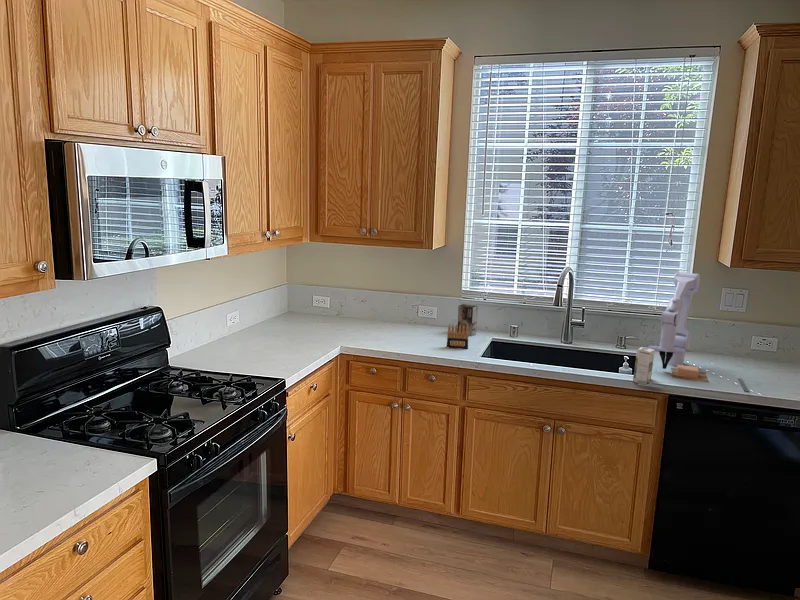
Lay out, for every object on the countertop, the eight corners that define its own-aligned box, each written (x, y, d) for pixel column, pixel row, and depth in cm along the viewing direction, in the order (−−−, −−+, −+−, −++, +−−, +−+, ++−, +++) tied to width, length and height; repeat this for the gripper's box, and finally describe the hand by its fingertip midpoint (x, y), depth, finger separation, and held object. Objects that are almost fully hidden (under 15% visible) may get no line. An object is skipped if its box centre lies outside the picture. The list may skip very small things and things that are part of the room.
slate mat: (706, 375, 259) (706, 374, 259) (741, 379, 254) (742, 378, 253) (710, 386, 242) (710, 385, 242) (748, 392, 237) (748, 391, 237)
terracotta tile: (676, 371, 258) (677, 364, 257) (696, 373, 255) (697, 367, 255) (677, 375, 252) (677, 368, 251) (697, 378, 249) (698, 371, 248)
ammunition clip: (446, 347, 291) (447, 324, 289) (446, 346, 293) (447, 323, 291) (467, 349, 290) (469, 325, 287) (467, 348, 291) (469, 324, 289)
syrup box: (636, 379, 250) (640, 346, 247) (651, 382, 246) (655, 349, 243) (632, 382, 245) (636, 348, 243) (647, 385, 242) (650, 351, 239)
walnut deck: (670, 371, 263) (670, 367, 263) (705, 375, 258) (705, 372, 258) (672, 380, 249) (672, 377, 248) (708, 385, 243) (709, 382, 243)
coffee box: (476, 334, 321) (478, 305, 318) (471, 336, 316) (473, 307, 313) (461, 331, 326) (463, 303, 323) (456, 333, 321) (458, 305, 318)
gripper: (649, 338, 253) (646, 368, 256) (686, 342, 248) (682, 373, 250) (649, 334, 259) (646, 364, 262) (685, 338, 254) (681, 368, 257)
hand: (664, 368), depth 256 cm, fingers closed
